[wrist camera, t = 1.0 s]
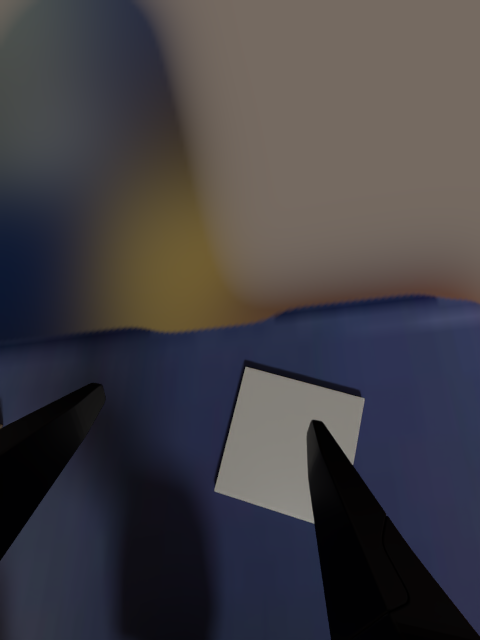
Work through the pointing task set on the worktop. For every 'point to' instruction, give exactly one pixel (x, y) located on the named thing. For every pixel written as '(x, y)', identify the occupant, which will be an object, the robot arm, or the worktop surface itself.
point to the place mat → (282, 440)
